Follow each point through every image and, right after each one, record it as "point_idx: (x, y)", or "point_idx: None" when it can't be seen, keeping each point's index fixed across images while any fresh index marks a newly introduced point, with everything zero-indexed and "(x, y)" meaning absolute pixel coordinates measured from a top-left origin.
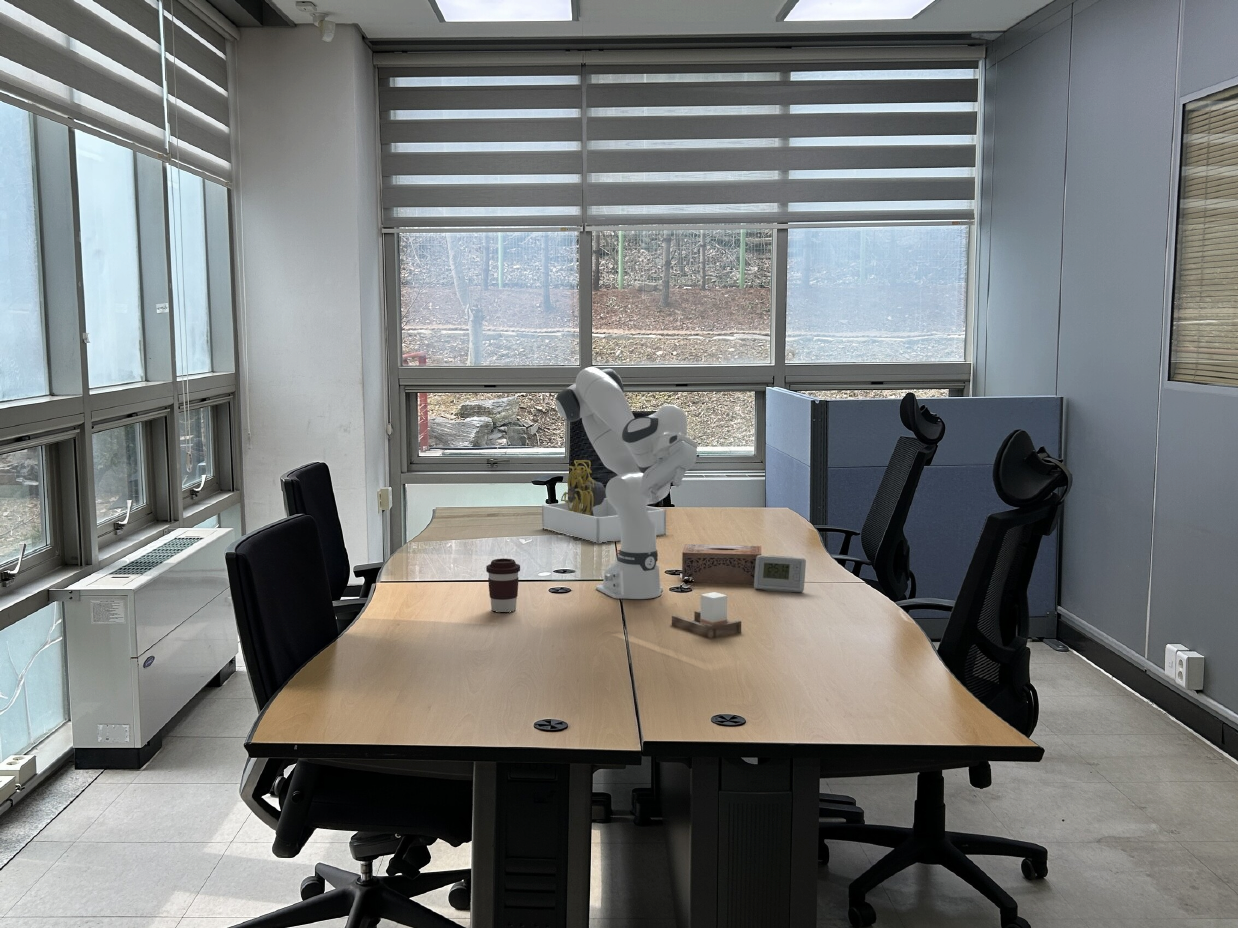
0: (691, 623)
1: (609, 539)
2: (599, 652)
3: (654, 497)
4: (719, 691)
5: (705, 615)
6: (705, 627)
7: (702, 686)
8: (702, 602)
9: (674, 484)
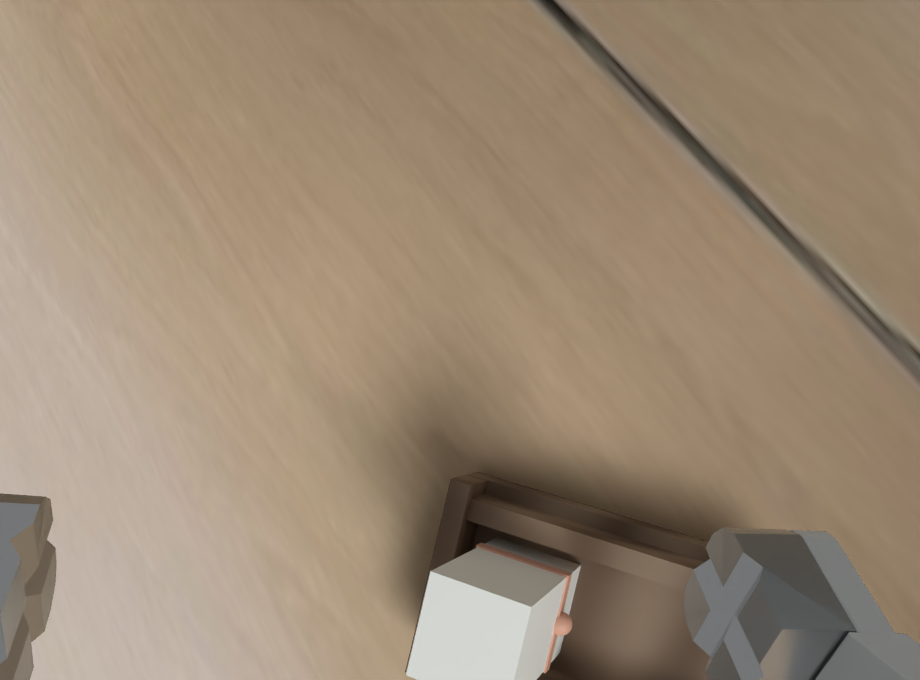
0: (603, 539)
1: None
2: (791, 38)
3: (734, 558)
4: (173, 38)
5: (522, 568)
6: (500, 507)
7: (233, 34)
8: (528, 592)
9: (9, 494)
